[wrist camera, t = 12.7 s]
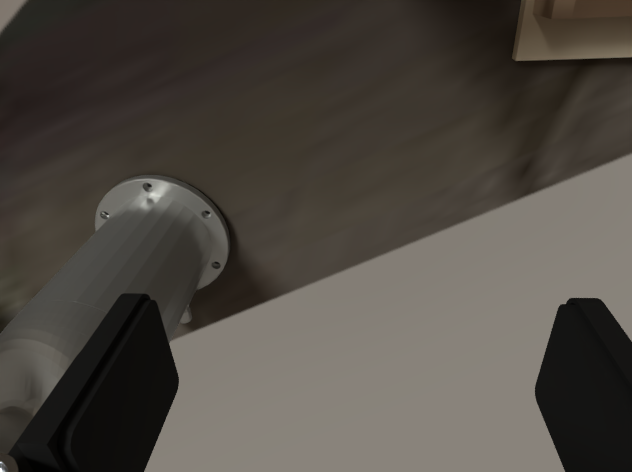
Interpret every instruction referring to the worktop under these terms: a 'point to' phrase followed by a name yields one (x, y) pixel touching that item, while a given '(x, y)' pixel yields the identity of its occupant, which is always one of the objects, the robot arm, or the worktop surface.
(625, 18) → the tray
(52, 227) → the worktop surface
